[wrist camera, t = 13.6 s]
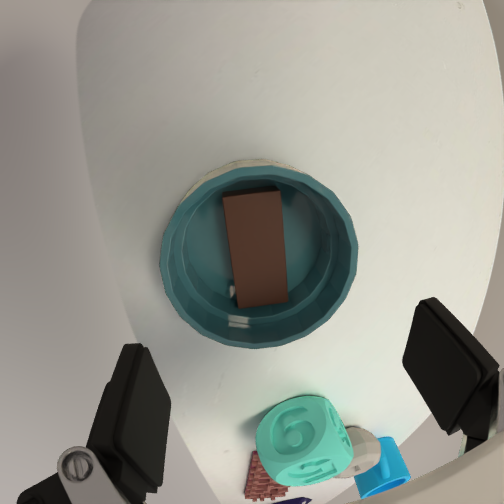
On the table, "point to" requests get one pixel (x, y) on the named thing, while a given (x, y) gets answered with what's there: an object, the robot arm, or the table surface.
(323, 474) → the decorative dice
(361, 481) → the mug
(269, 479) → the red lattice panel
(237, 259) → the small chocolate
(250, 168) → the bowl
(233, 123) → the table surface
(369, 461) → the apple
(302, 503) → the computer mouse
